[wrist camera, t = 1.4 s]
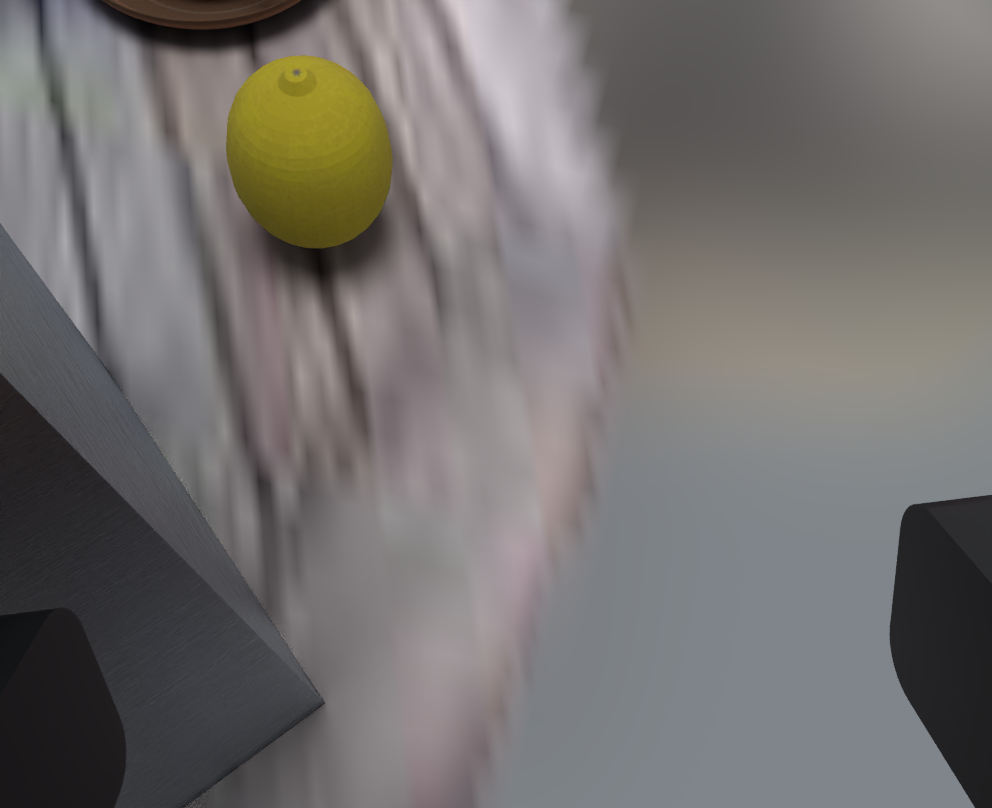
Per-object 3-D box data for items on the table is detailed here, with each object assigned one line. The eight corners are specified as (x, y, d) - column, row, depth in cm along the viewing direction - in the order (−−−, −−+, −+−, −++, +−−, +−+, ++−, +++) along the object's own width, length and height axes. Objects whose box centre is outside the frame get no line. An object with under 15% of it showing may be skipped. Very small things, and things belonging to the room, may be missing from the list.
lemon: (372, 303, 34) (356, 162, 26) (229, 268, 34) (174, 119, 27) (413, 186, 36) (408, 27, 29) (278, 154, 36) (239, -12, 29)
